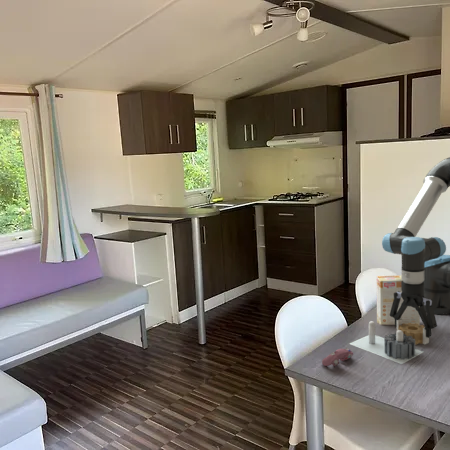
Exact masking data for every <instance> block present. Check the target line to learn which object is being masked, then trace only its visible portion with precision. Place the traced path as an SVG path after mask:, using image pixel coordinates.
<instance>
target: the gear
mask: <svg viewBox="0 0 450 450" xmlns="http://www.w3.org/2000/svg"><path fill="white" fill-rule="evenodd" d="M383 338H384V352H385V353H387V356H389V357H390V356H392V357H393V358H395V359H397V358H401V360H405V358H408V359H411V358H412V357H414V356H415V349H416V344H415V338H412V336H406V334H403V341H396V332H395V333H389V334H388V335H385V336H384V337H383ZM414 358H415V357H414ZM412 359H413V358H412ZM412 359H411V360H412Z"/></svg>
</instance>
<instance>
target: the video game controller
mask: <svg viewBox="0 0 450 450" xmlns="http://www.w3.org/2000/svg"><path fill="white" fill-rule="evenodd" d="M353 355H354V352H353V351H352V350H351V349H349V348H348V347H346V348H338V349H336V350H335V351H333V352H331V353H330V354H328V355H327V356H325V357H324V358H323V359H322V361H321V364H322V366H325V367H329V366H331V365H332V366H333V367H334V366H335V367H338V366H339V364H340V365H343V363H342V362H344V361H347V360H350V359H351V358H352V357H353ZM340 361H342V362H341V363H340Z"/></svg>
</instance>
